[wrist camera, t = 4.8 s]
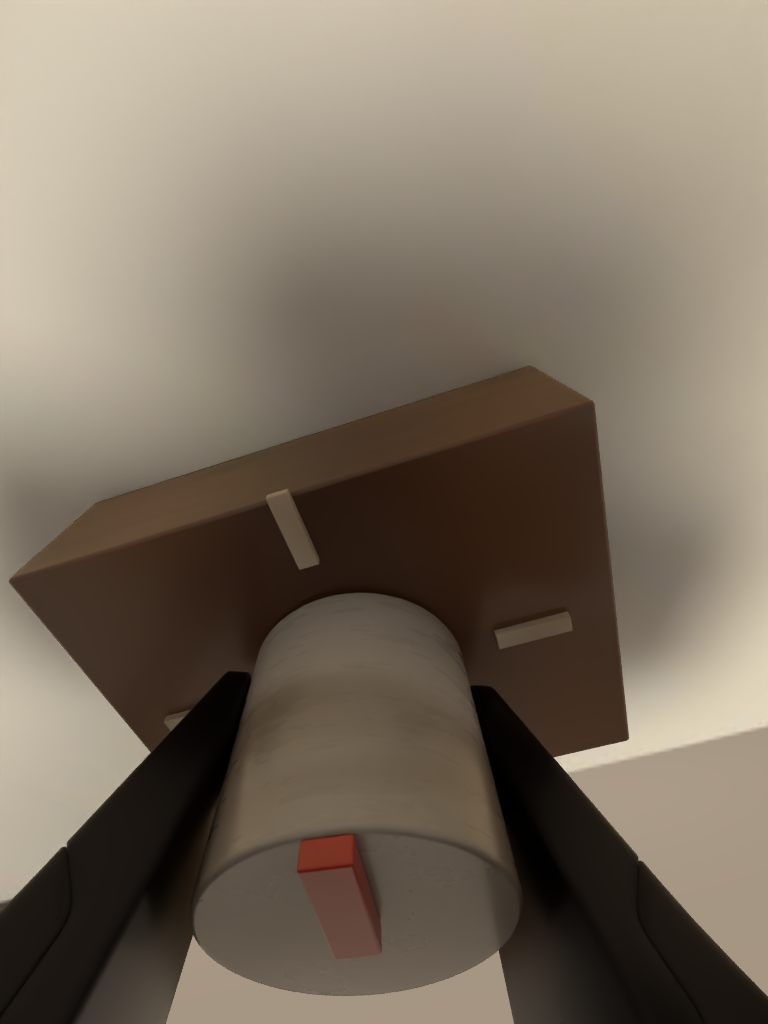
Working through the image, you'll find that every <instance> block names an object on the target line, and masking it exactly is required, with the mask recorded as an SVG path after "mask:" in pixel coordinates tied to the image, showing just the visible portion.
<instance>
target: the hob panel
mask: <svg viewBox="0 0 768 1024" xmlns="http://www.w3.org/2000/svg"><path fill="white" fill-rule="evenodd" d="M9 583H10V584H11V585H12V587H13V588H14V589H15V590H16V591H17V593H18V594H19V595H20V596H21V597H22V599H23V600H24V601H25V602H26V603H27V605H28V606H29V607H30V608H31V609H32V611H33V612H34V613H35V614H36V615H37V617H38V618H39V619H40V620H41V621H42V623H43V624H44V625H45V626H46V627H47V629H48V630H49V631H50V632H51V633H52V635H53V636H54V637H55V638H56V639H57V641H58V642H59V643H60V644H61V645H62V646H63V648H64V649H65V650H66V651H67V652H68V654H69V655H70V656H71V657H72V658H73V660H74V661H75V662H76V663H77V664H78V666H79V667H80V668H81V669H82V670H83V672H84V673H85V674H86V675H87V676H88V678H89V679H90V680H91V681H92V682H93V684H94V685H95V686H96V687H97V688H98V690H99V691H100V692H101V693H102V694H103V696H104V697H105V698H106V699H107V700H108V702H109V703H110V704H111V705H112V706H113V707H114V709H115V710H116V711H117V712H118V713H119V715H120V716H121V717H122V718H123V719H124V721H125V722H126V723H127V724H128V725H129V727H130V728H131V729H132V730H133V731H134V733H135V734H136V735H137V736H138V737H139V739H140V740H141V741H142V742H143V743H144V745H145V746H146V747H147V748H148V749H149V751H150V752H152V751H153V750H154V749H155V748H156V747H157V746H158V745H159V744H160V742H161V741H162V740H163V739H164V738H165V737H166V736H167V735H168V734H169V733H170V732H171V731H172V730H173V729H174V728H175V726H176V725H177V724H178V723H179V722H180V721H181V720H182V719H183V718H184V717H185V716H186V715H187V714H188V713H189V712H190V710H191V709H192V708H193V707H194V706H195V705H196V704H197V703H198V702H199V701H200V700H201V699H202V698H203V697H204V696H205V694H206V693H207V692H208V691H209V690H210V689H211V688H212V687H213V686H214V685H215V684H216V683H217V682H218V681H219V680H220V678H221V677H222V676H223V675H224V674H225V673H227V672H229V671H240V672H248V673H250V675H251V679H252V675H253V672H254V668H255V664H256V661H257V657H258V653H259V650H260V648H261V646H262V644H263V642H264V640H265V639H266V637H267V636H268V634H269V633H270V631H271V630H272V629H273V628H274V627H275V626H276V625H277V624H278V623H279V622H280V621H281V620H282V619H284V618H285V617H286V616H287V615H289V614H290V613H292V612H293V611H295V610H297V609H298V608H300V607H302V606H304V605H306V604H308V603H310V602H313V601H315V600H318V599H322V598H325V597H328V596H333V595H338V594H345V593H377V594H385V595H389V596H394V597H398V598H401V599H404V600H407V601H409V602H412V603H414V604H416V605H418V606H420V607H422V608H424V609H426V610H427V611H429V612H430V613H431V614H433V615H434V616H436V617H437V618H438V619H439V620H440V621H441V622H442V623H443V624H444V625H445V626H446V627H447V628H448V629H449V631H450V632H451V633H452V634H453V636H454V638H455V639H456V641H457V643H458V645H459V648H460V651H461V653H462V657H463V661H464V665H465V669H466V673H467V677H468V681H469V684H470V686H472V685H485V686H491V687H493V688H494V689H495V690H496V691H497V692H498V693H499V695H500V696H501V697H502V698H503V699H504V700H505V702H506V703H507V704H508V705H509V706H510V707H511V709H512V710H513V711H514V712H515V713H516V714H517V716H518V717H519V718H520V719H521V720H522V721H523V723H524V724H525V725H526V726H527V727H528V728H529V730H530V731H531V732H532V733H533V734H534V735H535V737H536V738H537V739H538V740H539V741H540V742H541V744H542V745H543V746H544V747H545V748H546V749H547V751H548V752H549V753H550V754H551V755H552V756H553V757H557V756H561V755H566V754H570V753H574V752H579V751H583V750H587V749H592V748H596V747H601V746H605V745H609V744H614V743H618V742H622V741H627V740H628V739H629V733H628V724H627V714H626V704H625V695H624V685H623V676H622V666H621V656H620V647H619V637H618V627H617V618H616V608H615V598H614V589H613V579H612V569H611V560H610V550H609V540H608V531H607V521H606V511H605V502H604V492H603V482H602V473H601V463H600V453H599V444H598V434H597V424H596V415H595V405H594V403H593V401H592V400H590V399H588V398H586V397H585V396H583V395H581V394H579V393H578V392H576V391H574V390H573V389H571V388H569V387H567V386H566V385H564V384H562V383H560V382H559V381H557V380H555V379H553V378H552V377H550V376H548V375H546V374H545V373H543V372H541V371H539V370H538V369H536V368H534V367H533V366H528V367H524V368H521V369H518V370H515V371H512V372H509V373H505V374H502V375H499V376H496V377H493V378H490V379H487V380H483V381H480V382H477V383H474V384H471V385H468V386H464V387H461V388H458V389H455V390H452V391H449V392H446V393H442V394H439V395H436V396H433V397H430V398H427V399H423V400H420V401H417V402H414V403H411V404H408V405H405V406H401V407H398V408H395V409H392V410H389V411H386V412H382V413H379V414H376V415H373V416H370V417H367V418H363V419H360V420H357V421H354V422H351V423H348V424H345V425H341V426H338V427H335V428H332V429H329V430H326V431H322V432H319V433H316V434H313V435H310V436H307V437H304V438H300V439H297V440H294V441H291V442H288V443H285V444H281V445H278V446H275V447H272V448H269V449H266V450H263V451H259V452H256V453H253V454H250V455H247V456H244V457H240V458H237V459H234V460H231V461H228V462H225V463H222V464H218V465H215V466H212V467H209V468H206V469H203V470H199V471H196V472H193V473H190V474H187V475H184V476H181V477H177V478H174V479H171V480H168V481H165V482H162V483H158V484H155V485H152V486H149V487H146V488H143V489H140V490H136V491H133V492H130V493H127V494H124V495H121V496H117V497H114V498H111V499H108V500H105V501H102V502H99V503H96V504H94V505H93V506H92V507H91V508H90V509H89V510H88V511H86V512H85V513H84V514H83V515H82V516H81V517H80V518H78V519H77V520H76V521H75V522H74V523H73V524H72V525H70V526H69V527H68V528H67V529H66V530H65V531H64V532H62V533H61V534H60V535H59V536H58V537H57V538H56V539H54V540H53V541H52V542H51V543H50V544H49V545H48V546H46V547H45V548H44V549H43V550H42V551H41V552H40V553H38V554H37V555H36V556H35V557H34V558H33V559H32V560H30V561H29V562H28V563H27V564H26V565H25V566H24V567H22V568H21V569H20V570H19V571H18V572H17V573H16V574H14V575H13V576H12V577H11V578H10V579H9Z"/></svg>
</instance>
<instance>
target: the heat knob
mask: <svg viewBox="0 0 768 1024" xmlns="http://www.w3.org/2000/svg"><path fill="white" fill-rule="evenodd" d="M522 909H523V894H522V888H521V884H520V880H519V876H518V872H517V868H516V864H515V860H514V856H513V853H512V849H511V845H510V841H509V837H508V833H507V829H506V825H505V821H504V817H503V813H502V810H501V806H500V802H499V798H498V794H497V790H496V786H495V782H494V778H493V774H492V770H491V767H490V763H489V759H488V755H487V751H486V747H485V743H484V739H483V735H482V731H481V727H480V724H479V720H478V716H477V712H476V708H475V704H474V700H473V696H472V692H471V688H470V684H469V681H468V677H467V673H466V669H465V665H464V661H463V657H462V653H461V651H460V648H459V645H458V643H457V641H456V639H455V638H454V636H453V634H452V633H451V632H450V631H449V629H448V628H447V627H446V626H445V625H444V624H443V623H442V622H441V621H440V620H439V619H438V618H437V617H436V616H434V615H433V614H431V613H430V612H429V611H427V610H426V609H424V608H422V607H420V606H418V605H416V604H414V603H412V602H409V601H407V600H404V599H401V598H398V597H394V596H389V595H385V594H377V593H345V594H338V595H333V596H328V597H325V598H322V599H318V600H315V601H313V602H310V603H308V604H306V605H304V606H302V607H300V608H298V609H297V610H295V611H293V612H292V613H290V614H289V615H287V616H286V617H285V618H284V619H282V620H281V621H280V622H279V623H278V624H277V625H276V626H275V627H274V628H273V629H272V630H271V631H270V633H269V634H268V636H267V637H266V639H265V640H264V642H263V644H262V646H261V648H260V650H259V653H258V657H257V661H256V664H255V668H254V672H253V675H252V679H251V683H250V686H249V690H248V694H247V697H246V701H245V705H244V708H243V712H242V716H241V719H240V723H239V727H238V730H237V734H236V738H235V741H234V745H233V749H232V752H231V756H230V760H229V763H228V767H227V771H226V774H225V778H224V782H223V785H222V789H221V793H220V796H219V800H218V804H217V807H216V811H215V815H214V818H213V822H212V826H211V829H210V833H209V837H208V840H207V844H206V848H205V851H204V855H203V859H202V862H201V866H200V870H199V873H198V877H197V881H196V884H195V888H194V892H193V895H192V899H191V903H190V925H191V929H192V932H193V935H194V937H195V939H196V941H197V942H198V944H199V945H200V947H201V948H202V949H203V950H204V951H205V952H206V954H207V955H209V956H210V957H211V958H212V959H213V960H215V961H216V962H217V963H219V964H220V965H222V966H223V967H225V968H227V969H228V970H230V971H232V972H234V973H236V974H238V975H240V976H242V977H245V978H247V979H250V980H252V981H255V982H258V983H261V984H264V985H268V986H271V987H275V988H279V989H283V990H288V991H293V992H300V993H307V994H317V995H333V996H355V995H374V994H384V993H391V992H398V991H403V990H408V989H413V988H418V987H422V986H425V985H429V984H433V983H436V982H439V981H442V980H445V979H448V978H450V977H453V976H455V975H457V974H460V973H462V972H464V971H467V970H468V969H470V968H472V967H474V966H476V965H478V964H480V963H481V962H483V961H484V960H486V959H487V958H489V957H490V956H492V955H493V954H494V953H496V952H497V951H498V950H499V949H500V948H502V947H503V946H504V945H505V944H506V942H507V941H508V940H509V939H510V938H511V937H512V935H513V934H514V932H515V931H516V929H517V927H518V925H519V922H520V919H521V917H522Z"/></svg>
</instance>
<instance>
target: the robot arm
mask: <svg viewBox="0 0 768 1024" xmlns="http://www.w3.org/2000/svg"><path fill="white" fill-rule="evenodd" d="M250 683H251V675H250V673H248V672H240V671H229V672H227V673H225V674H224V675H223V676H222V677H221V678H220V680H219V681H218V682H217V683H216V684H215V685H214V686H213V687H212V688H211V689H210V690H209V691H208V692H207V693H206V694H205V696H204V697H203V698H202V699H201V700H200V701H199V702H198V703H197V704H196V705H195V706H194V707H193V708H192V709H191V710H190V712H189V713H188V714H187V715H186V716H185V717H184V718H183V719H182V720H181V721H180V722H179V723H178V724H177V725H176V726H175V728H174V729H173V730H172V731H171V732H170V733H169V734H168V735H167V736H166V737H165V738H164V739H163V740H162V741H161V742H160V744H159V745H158V746H157V747H156V748H155V749H154V750H153V751H152V752H151V753H150V754H149V755H148V756H147V757H146V758H145V759H144V761H143V762H142V763H141V764H140V765H139V766H138V767H137V768H136V769H135V770H134V771H133V772H132V773H131V774H130V775H129V777H128V778H127V779H126V780H125V781H124V782H123V783H122V784H121V785H120V786H119V787H118V788H117V789H116V790H115V791H114V793H113V794H112V795H111V796H110V797H109V798H108V799H107V800H106V801H105V802H104V803H103V804H102V805H101V806H100V807H99V809H98V810H97V811H96V812H95V813H94V814H93V815H92V816H91V817H90V818H89V819H88V820H87V821H86V822H85V823H84V825H83V826H82V827H81V828H80V829H79V830H78V831H77V832H76V833H75V834H74V835H73V836H72V837H71V838H70V839H69V840H68V842H67V848H66V847H62V848H61V849H60V850H59V851H58V852H57V853H56V854H55V855H54V856H53V857H52V858H51V859H50V860H49V862H48V863H47V864H46V865H45V866H44V867H43V868H42V869H41V870H40V871H39V872H38V873H37V874H36V875H35V876H34V877H33V878H32V879H31V880H30V881H29V882H28V884H27V885H26V886H25V887H24V888H23V889H22V890H21V891H20V892H19V893H18V894H17V895H16V896H15V897H14V898H13V899H12V900H11V901H10V902H9V903H8V904H7V905H6V906H5V907H4V908H3V909H2V910H1V911H0V1024H166V1021H167V1017H168V1014H169V1011H170V1008H171V1004H172V1001H173V998H174V995H175V992H176V988H177V985H178V982H179V979H180V975H181V972H182V969H183V965H184V962H185V958H186V956H187V952H188V949H189V946H190V943H191V940H192V936H193V932H192V929H191V925H190V903H191V899H192V895H193V892H194V888H195V884H196V881H197V877H198V873H199V870H200V866H201V862H202V859H203V855H204V851H205V848H206V844H207V840H208V837H209V833H210V829H211V826H212V822H213V818H214V815H215V811H216V807H217V804H218V800H219V796H220V793H221V789H222V785H223V782H224V778H225V774H226V771H227V767H228V763H229V760H230V756H231V752H232V749H233V745H234V741H235V738H236V734H237V730H238V727H239V723H240V719H241V716H242V712H243V708H244V705H245V701H246V697H247V694H248V690H249V686H250ZM470 688H471V692H472V696H473V700H474V704H475V708H476V712H477V716H478V720H479V724H480V727H481V731H482V735H483V739H484V743H485V747H486V751H487V755H488V759H489V763H490V767H491V770H492V774H493V778H494V782H495V786H496V790H497V794H498V798H499V802H500V806H501V810H502V813H503V817H504V821H505V825H506V829H507V833H508V837H509V841H510V845H511V849H512V853H513V856H514V860H515V864H516V868H517V872H518V876H519V880H520V884H521V888H522V894H523V909H522V917H521V919H520V922H519V925H518V927H517V929H516V931H515V932H514V934H513V935H512V937H511V938H510V939H509V940H508V941H507V942H506V944H505V945H504V946H503V947H502V948H500V949H499V954H500V958H501V963H502V968H503V973H504V977H505V982H506V987H507V991H508V996H509V1001H510V1006H511V1010H512V1015H513V1020H514V1024H768V996H767V995H766V994H764V992H763V991H762V990H761V989H760V988H759V987H758V986H757V985H756V984H755V983H754V982H753V981H752V980H751V979H750V978H749V977H748V976H747V975H746V974H745V973H744V972H743V971H742V970H741V969H740V968H739V967H738V966H737V965H736V964H735V963H734V962H733V961H732V960H731V959H730V957H728V955H727V954H726V953H725V952H724V951H723V950H722V949H721V948H720V947H719V946H718V945H717V944H716V943H715V942H714V941H713V940H712V939H711V938H710V936H709V935H708V934H707V933H706V932H705V931H704V930H703V929H702V928H701V927H700V926H699V925H698V924H697V923H696V922H695V921H694V919H693V918H692V917H691V916H690V915H689V914H688V913H687V912H686V910H685V909H684V908H683V907H682V906H681V905H680V904H679V903H678V901H676V899H675V898H674V897H673V896H672V895H671V894H670V892H669V891H668V890H667V889H666V888H665V887H664V886H663V885H662V883H661V882H660V881H659V880H658V879H657V878H656V876H655V875H654V874H653V873H652V872H651V871H650V869H649V868H648V867H647V866H646V865H645V864H644V862H642V861H638V856H637V854H636V853H635V852H634V851H633V850H632V849H631V847H630V846H629V845H628V844H627V843H626V842H625V841H624V839H623V838H622V837H621V836H620V835H619V834H618V832H617V831H616V830H615V829H614V828H613V826H611V824H610V823H609V822H608V821H607V819H606V818H605V817H604V816H603V815H602V814H601V812H600V811H598V809H597V808H596V807H595V805H594V804H593V803H592V802H591V801H590V800H589V798H587V796H586V795H585V794H584V793H583V792H582V790H581V789H580V788H579V787H578V786H577V785H576V783H575V782H574V781H573V780H572V779H571V777H570V776H569V775H568V774H567V773H566V772H565V770H564V769H563V768H562V767H561V766H560V765H559V763H558V762H557V761H556V760H555V759H554V758H553V756H552V755H551V754H550V753H549V752H548V751H547V749H546V748H545V747H544V746H543V745H542V744H541V742H540V741H539V740H538V739H537V738H536V737H535V735H534V734H533V733H532V732H531V731H530V730H529V728H528V727H527V726H526V725H525V724H524V723H523V721H522V720H521V719H520V718H519V717H518V716H517V714H516V713H515V712H514V711H513V710H512V709H511V707H510V706H509V705H508V704H507V703H506V702H505V700H504V699H503V698H502V697H501V696H500V695H499V693H498V692H497V691H496V690H495V689H494V688H493V687H491V686H485V685H472V686H470Z"/></svg>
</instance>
